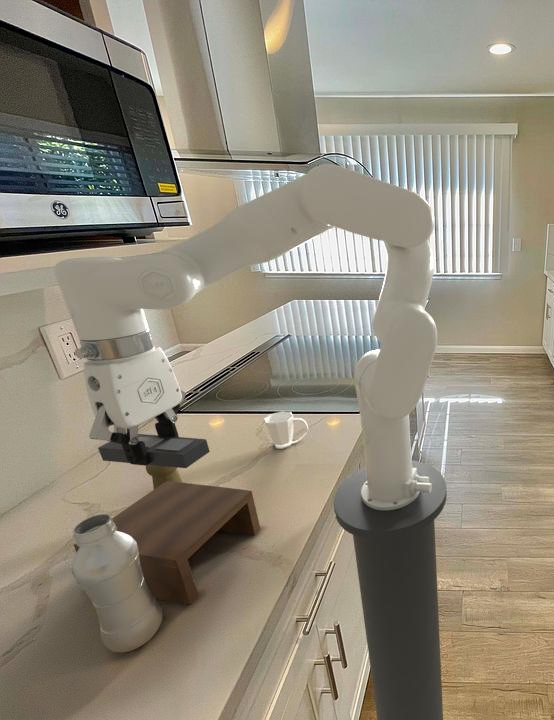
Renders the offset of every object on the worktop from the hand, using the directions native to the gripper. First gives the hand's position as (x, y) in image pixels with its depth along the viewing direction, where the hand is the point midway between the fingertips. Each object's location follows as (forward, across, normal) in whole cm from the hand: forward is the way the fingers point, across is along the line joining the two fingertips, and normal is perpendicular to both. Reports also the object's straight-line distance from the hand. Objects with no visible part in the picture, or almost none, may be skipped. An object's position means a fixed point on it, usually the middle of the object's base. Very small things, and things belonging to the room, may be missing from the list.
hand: (156, 453), depth 63 cm
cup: (+21, +36, +4) cm, 42 cm away
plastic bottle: (+21, -14, -5) cm, 26 cm away
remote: (+1, 0, 0) cm, 1 cm away
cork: (+21, +11, +15) cm, 28 cm away
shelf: (+21, -1, +1) cm, 21 cm away
